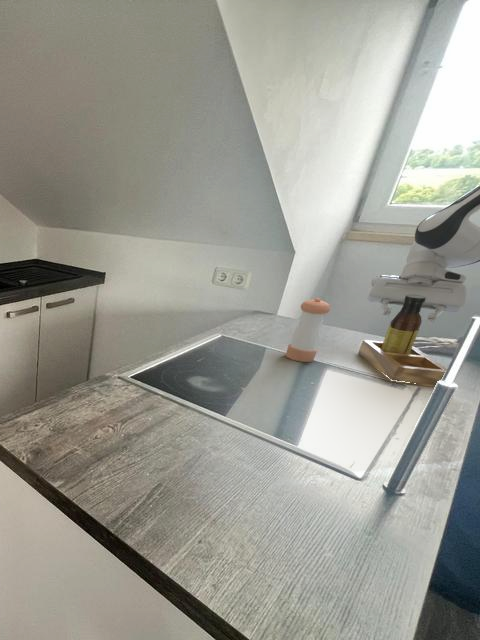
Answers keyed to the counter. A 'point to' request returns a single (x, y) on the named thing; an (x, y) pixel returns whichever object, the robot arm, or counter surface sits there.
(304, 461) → the counter surface
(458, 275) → the robot arm
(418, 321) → the sauce bottle
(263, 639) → the counter surface
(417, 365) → the wooden compartment tray
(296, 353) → the pepper shaker
